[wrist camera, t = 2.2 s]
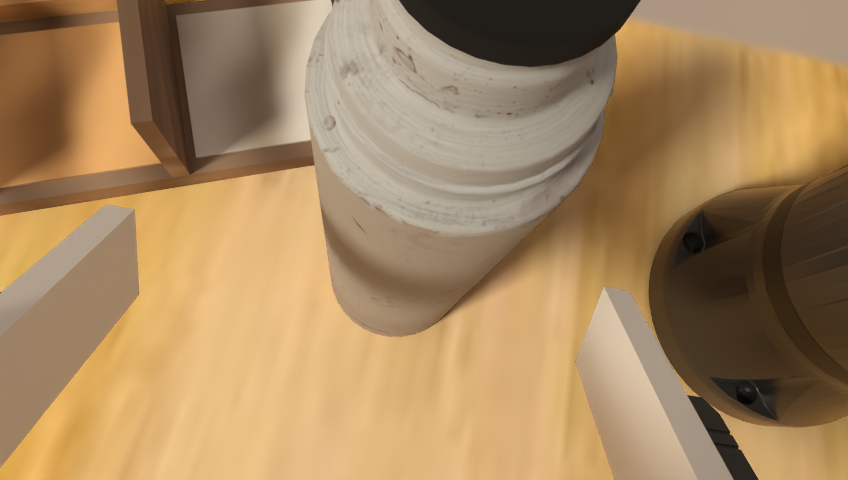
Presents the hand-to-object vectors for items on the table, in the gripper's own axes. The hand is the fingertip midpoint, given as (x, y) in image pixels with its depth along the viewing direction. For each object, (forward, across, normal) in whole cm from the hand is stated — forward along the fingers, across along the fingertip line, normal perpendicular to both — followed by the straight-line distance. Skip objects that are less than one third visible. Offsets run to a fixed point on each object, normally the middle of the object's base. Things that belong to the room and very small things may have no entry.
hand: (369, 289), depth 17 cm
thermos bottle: (+18, +1, -10) cm, 20 cm away
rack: (+24, -14, -3) cm, 28 cm away
